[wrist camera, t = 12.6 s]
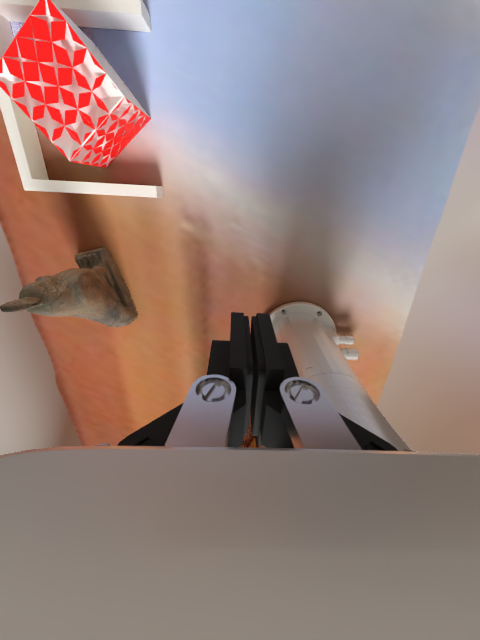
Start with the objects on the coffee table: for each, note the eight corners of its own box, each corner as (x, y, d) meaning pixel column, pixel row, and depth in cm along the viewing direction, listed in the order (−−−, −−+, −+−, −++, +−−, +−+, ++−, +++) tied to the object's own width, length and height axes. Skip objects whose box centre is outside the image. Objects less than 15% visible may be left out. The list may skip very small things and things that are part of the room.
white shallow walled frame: (149, 15, 26) (139, -5, 23) (163, 196, 33) (157, 197, 31) (-8, 3, 25) (-36, -20, 23) (41, 190, 33) (24, 190, 30)
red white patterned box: (49, 103, 29) (-11, 75, 22) (94, 43, 27) (44, -9, 20) (107, 168, 32) (70, 162, 25) (151, 119, 30) (125, 97, 23)
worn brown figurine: (86, 250, 39) (-46, 249, 21) (122, 245, 38) (17, 240, 21) (107, 326, 42) (6, 380, 24) (140, 322, 41) (62, 373, 24)
